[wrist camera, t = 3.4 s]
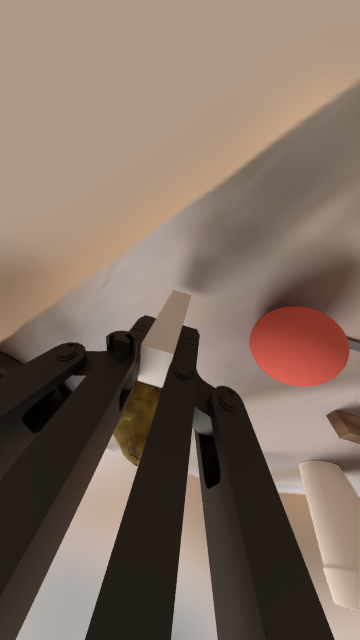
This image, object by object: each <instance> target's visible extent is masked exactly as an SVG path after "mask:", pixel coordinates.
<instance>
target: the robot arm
mask: <svg viewBox="0 0 360 640" xmlns="http://www.w3.org/2000/svg"><path fill="white" fill-rule="evenodd" d="M190 298H191V295H188V294H185V293H181V292H178V291H174V290H173V291H172V293H171V295H170V296H169V298H168V300H167V302H166V303H165V305H164V307H163V308H162V310H161V312H160V313H159V315H158V317H157V318H153V317H150V316H146V315H145V316H143V317H141V318H139V319H138V320H137V322H136V323H135V324H134V326H133V327H132V328H131V329H130V331H129V332H128V331H116V332H113V333H110V334H109V335H108V336H106V343H107V351H86V350H85V347H84V346H83V345H82V344H79V343H71V342H70V343H64V344H61V345H59V346H56V347H54V348H53V349H51V350H49V351H47V352H45V353H44V354H42V355H40V356H38V357H36V358H35V359H33V360H31V361H29V362H27V363H26V364H24V365H22V364H20V363H19V362H17V361H15V360H14V359H12V358H10V357H8V356H7V355H5V354H2V353H0V478H1V479H0V640H16V637H17V635H18V633H19V631H20V629H21V627H22V625H23V623H24V620H25V618H26V616H27V614H28V612H29V610H30V608H31V606H32V603H33V601H34V599H35V597H36V595H37V593H38V591H39V589H40V587H41V584H42V582H43V580H44V578H45V576H46V574H47V572H48V570H49V568H50V565H51V563H52V561H53V559H54V557H55V555H56V553H57V551H58V549H59V546H60V544H61V542H62V540H63V538H64V536H65V534H66V532H67V530H68V527H69V525H70V523H71V521H72V519H73V517H74V515H75V513H76V510H77V508H78V506H79V504H80V502H81V500H82V498H83V496H84V494H85V491H86V489H87V487H88V485H89V483H90V481H91V479H92V476H93V474H94V472H95V470H96V468H97V466H98V464H99V462H100V459H101V458H102V455H103V453H104V451H105V449H106V447H107V445H108V443H109V441H110V438H111V436H112V434H113V432H114V430H115V428H116V426H117V424H118V422H119V419H120V417H121V415H122V413H123V411H124V409H125V407H126V405H127V402H128V400H129V398H130V396H131V394H132V392H133V389H134V383H135V381H136V379H137V377H138V381H141V382H144V383H147V384H151V385H154V386H157V387H161V388H162V391H161V394H160V397H159V401H158V404H157V407H156V410H155V414H154V417H153V420H152V423H151V427H150V430H149V433H148V436H147V440H146V443H145V446H144V449H143V453H142V456H141V459H140V462H139V466H138V469H137V472H136V476H135V479H134V482H133V485H132V489H131V492H130V495H129V499H128V501H127V505H126V508H125V511H124V514H123V518H122V521H121V524H120V527H119V531H118V534H117V537H116V540H115V544H114V547H113V550H112V553H111V557H110V560H109V563H108V566H107V570H106V574H105V576H104V580H103V583H102V586H101V589H100V593H99V596H98V599H97V602H96V605H95V609H94V612H93V615H92V618H91V622H90V625H89V628H88V631H87V635H86V638H85V640H171V632H172V622H173V613H174V602H175V593H176V583H177V573H178V563H179V553H180V544H181V533H182V524H183V514H184V503H185V493H186V484H187V474H188V464H189V455H190V445H191V435H192V428H194V430H195V439H196V448H197V457H198V466H199V475H200V483H201V493H202V502H203V511H204V520H205V529H206V538H207V546H208V555H209V564H210V573H211V582H212V591H213V600H214V609H215V618H216V627H217V636H218V640H334V637H333V634H332V632H331V629H330V627H329V624H328V622H327V619H326V616H325V614H324V611H323V608H322V606H321V603H320V601H319V598H318V595H317V593H316V590H315V588H314V585H313V582H312V580H311V577H310V575H309V572H308V570H307V567H306V564H305V562H304V559H303V557H302V554H301V551H300V549H299V546H298V543H297V541H296V539H295V536H294V533H293V531H292V528H291V525H290V523H289V520H288V518H287V515H286V513H285V510H284V507H283V505H282V502H281V499H280V497H279V494H278V492H277V489H276V486H275V484H274V481H273V479H272V476H271V473H270V471H269V468H268V466H267V463H266V460H265V458H264V455H263V453H262V450H261V447H260V445H259V442H258V440H257V437H256V434H255V432H254V429H253V427H252V424H251V422H250V419H249V416H248V414H247V411H246V409H245V406H244V403H243V401H242V399H241V398H240V396H239V395H238V394H237V393H236V392H235V391H234V390H232V389H231V388H229V387H226V386H218V387H217V388H214V387H213V386H211V385H209V384H208V383H206V382H205V381H204V380H203V379H202V378H201V377H200V376H199V374H198V373H197V369H196V363H197V354H198V346H199V337H200V335H199V333H198V330H197V329H194V328H190V327H187V326H183V323H184V319H185V315H186V312H187V308H188V305H189V301H190Z"/></svg>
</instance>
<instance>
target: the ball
mask: <svg viewBox="0 0 360 640" xmlns="http://www.w3.org/2000/svg"><path fill="white" fill-rule="evenodd" d="M250 349H251V353H252V356H253V358H254V360H255V361H256V363H257V364H258V366H259V367H260V368H261V369H262V370H263V371H264V372H265V373H267V374H268V375H269V376H271V377H272V378H274V379H276V380H278V381H280V382H283V383H286V384H289V385H294V386H315V385H319V384H322V383H325V382H327V381H329V380H331V379H333V378H334V377H336V376H337V375H338V374H339V373H340V372H341V371H342V370H343V368H344V367H345V365H346V363H347V360H348V357H349V344H348V340H347V337H346V335H345V333H344V331H343V330H342V328H341V327H340V326H339V325H338V324H337V323H336V322H335V321H334V320H333V319H332V318H330V317H329V316H327V315H326V314H324V313H322V312H320V311H317V310H314V309H311V308H307V307H300V306H288V307H282V308H278V309H275V310H273V311H270V312H269V313H267V314H265V315H264V316H263V317H261V318H260V319H259V320H258V321H257V323H256V324H255V325H254V327H253V329H252V332H251V335H250Z"/></svg>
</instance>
